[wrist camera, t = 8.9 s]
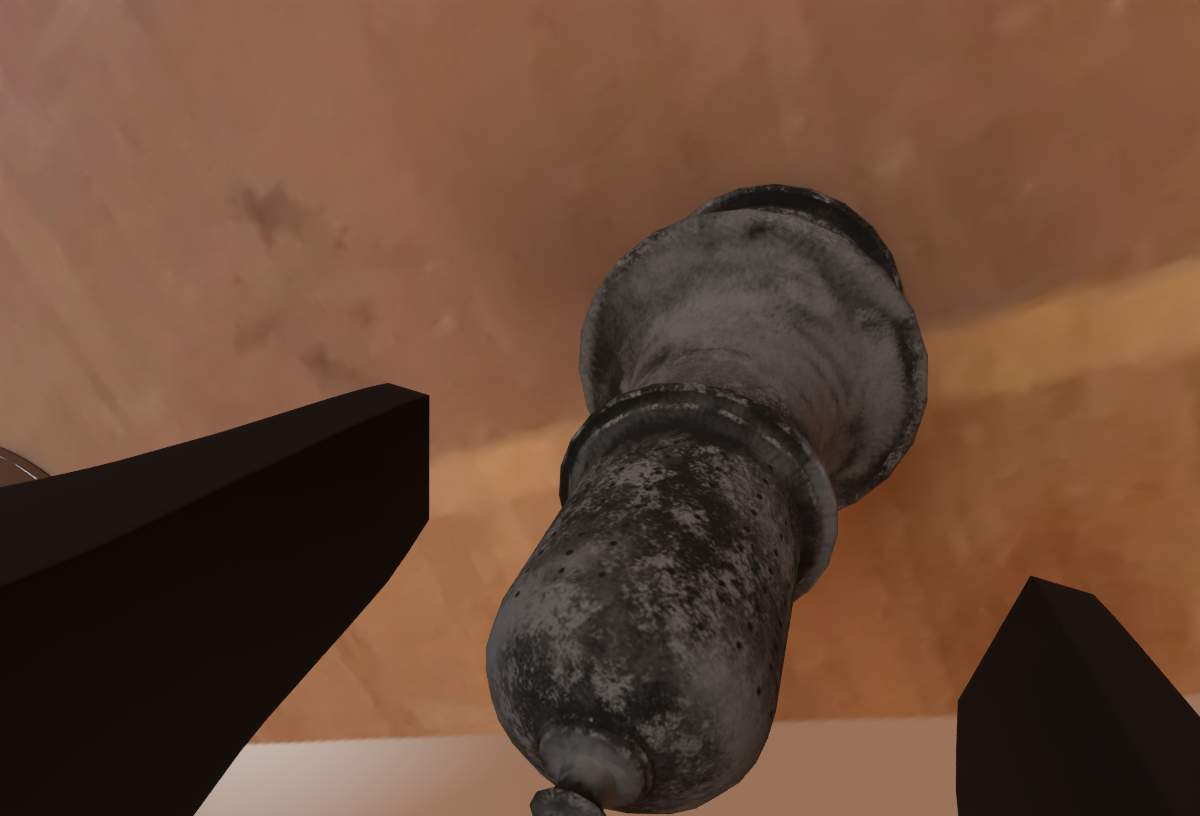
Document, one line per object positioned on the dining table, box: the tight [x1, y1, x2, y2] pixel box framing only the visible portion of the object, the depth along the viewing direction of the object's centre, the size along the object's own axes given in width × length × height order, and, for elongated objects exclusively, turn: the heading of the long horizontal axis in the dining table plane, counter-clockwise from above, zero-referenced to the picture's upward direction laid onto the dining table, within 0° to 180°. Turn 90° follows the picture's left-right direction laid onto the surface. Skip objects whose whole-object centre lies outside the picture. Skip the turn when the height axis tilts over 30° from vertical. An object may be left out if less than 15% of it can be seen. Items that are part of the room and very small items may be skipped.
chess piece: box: [486, 184, 928, 816], centre depth 10 cm, size 6×6×12 cm
